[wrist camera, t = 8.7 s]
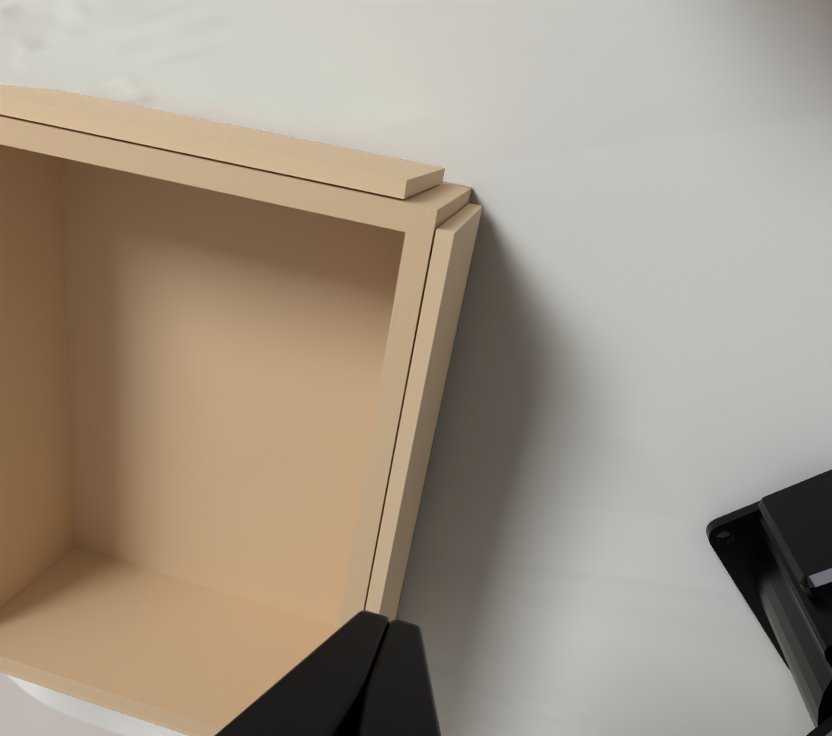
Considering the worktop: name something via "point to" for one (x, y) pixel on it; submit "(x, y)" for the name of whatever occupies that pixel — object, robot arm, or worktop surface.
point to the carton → (208, 396)
